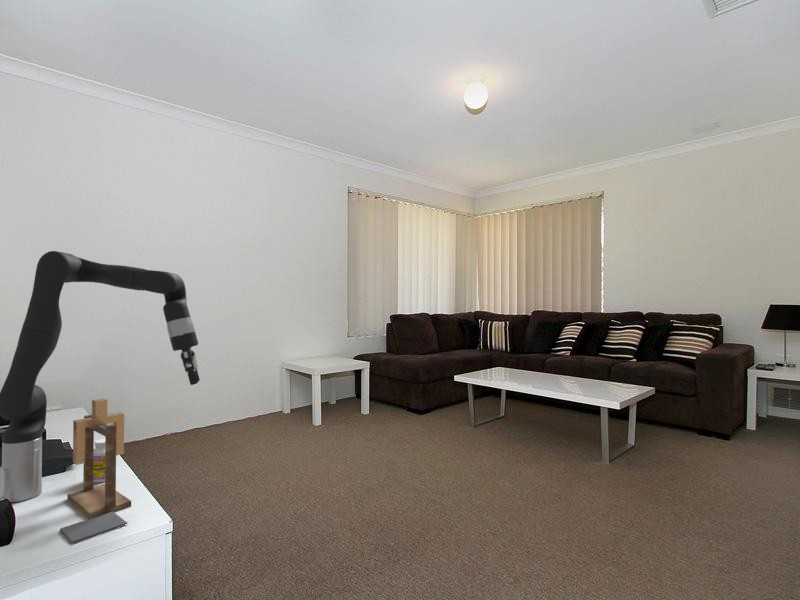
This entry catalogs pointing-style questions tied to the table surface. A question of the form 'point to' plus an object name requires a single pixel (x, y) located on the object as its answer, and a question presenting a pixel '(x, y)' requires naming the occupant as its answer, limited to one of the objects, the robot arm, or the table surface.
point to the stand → (105, 495)
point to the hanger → (97, 419)
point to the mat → (92, 527)
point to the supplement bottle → (99, 461)
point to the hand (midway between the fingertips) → (195, 383)
